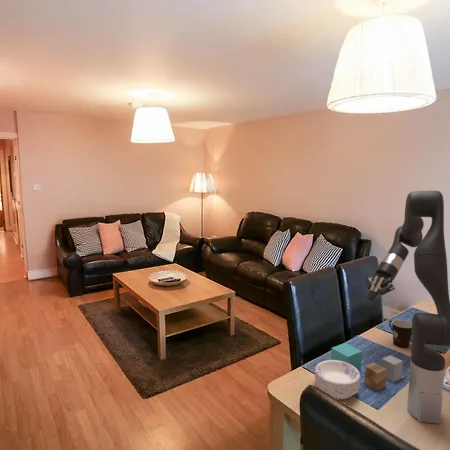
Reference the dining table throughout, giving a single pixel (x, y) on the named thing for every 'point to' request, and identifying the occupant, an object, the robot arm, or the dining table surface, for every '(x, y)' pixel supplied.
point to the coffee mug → (401, 333)
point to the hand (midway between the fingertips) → (369, 300)
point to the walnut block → (375, 376)
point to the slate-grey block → (392, 368)
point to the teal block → (347, 355)
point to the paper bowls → (337, 378)
